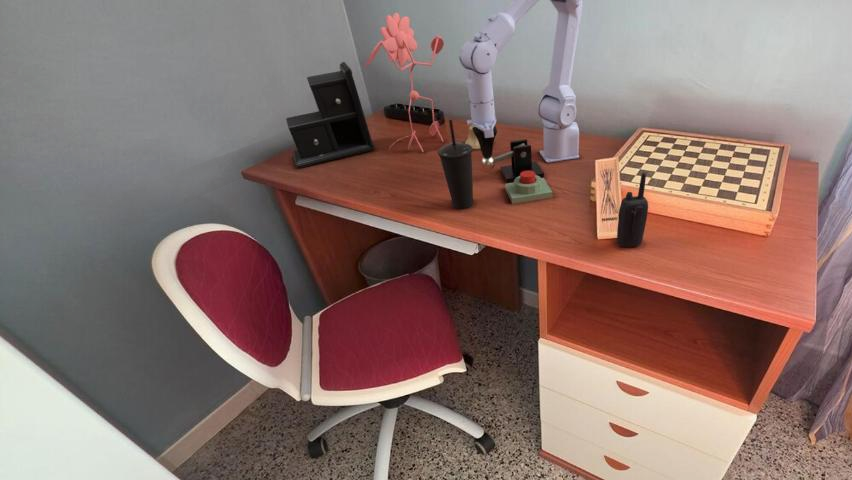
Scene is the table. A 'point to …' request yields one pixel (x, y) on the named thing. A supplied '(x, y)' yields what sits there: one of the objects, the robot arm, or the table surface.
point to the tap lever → (496, 159)
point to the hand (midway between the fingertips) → (487, 156)
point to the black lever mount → (520, 162)
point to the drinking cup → (458, 171)
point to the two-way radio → (632, 217)
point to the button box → (528, 190)
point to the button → (527, 177)
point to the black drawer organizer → (331, 121)
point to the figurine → (405, 57)
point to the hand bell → (472, 138)
